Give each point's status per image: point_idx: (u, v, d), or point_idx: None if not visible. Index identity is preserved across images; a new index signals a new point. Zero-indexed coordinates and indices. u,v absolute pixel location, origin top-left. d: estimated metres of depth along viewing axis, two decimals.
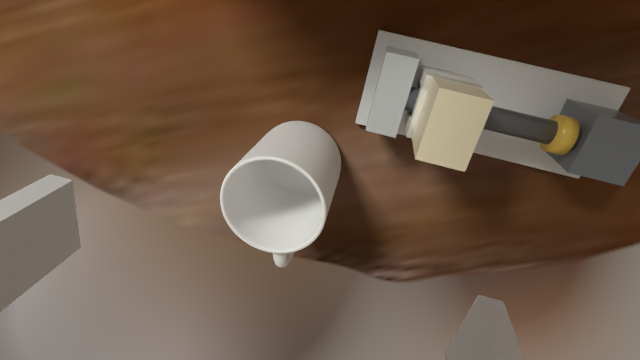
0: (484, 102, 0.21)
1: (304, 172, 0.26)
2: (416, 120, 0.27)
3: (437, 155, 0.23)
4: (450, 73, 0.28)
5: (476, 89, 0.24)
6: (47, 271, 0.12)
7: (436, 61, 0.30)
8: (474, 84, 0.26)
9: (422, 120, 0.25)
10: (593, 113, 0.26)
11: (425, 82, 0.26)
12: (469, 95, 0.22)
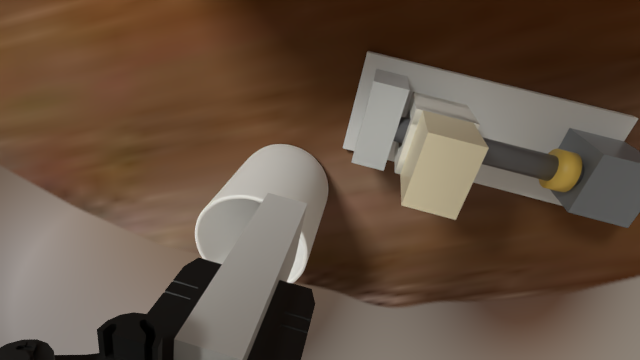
0: (477, 149, 0.19)
1: None
2: (405, 156, 0.25)
3: (425, 202, 0.21)
4: (443, 102, 0.26)
5: (470, 128, 0.22)
6: None
7: (429, 86, 0.28)
8: (468, 119, 0.24)
9: (410, 160, 0.23)
10: (597, 150, 0.24)
11: (415, 116, 0.23)
12: (461, 141, 0.19)
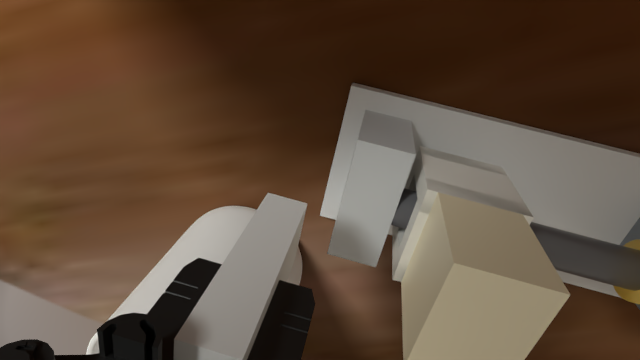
0: (548, 295, 0.10)
1: None
2: (409, 257, 0.16)
3: None
4: (467, 165, 0.17)
5: (522, 233, 0.13)
6: None
7: (443, 135, 0.19)
8: (512, 204, 0.14)
9: (418, 281, 0.13)
10: None
11: (425, 201, 0.14)
12: (516, 280, 0.10)
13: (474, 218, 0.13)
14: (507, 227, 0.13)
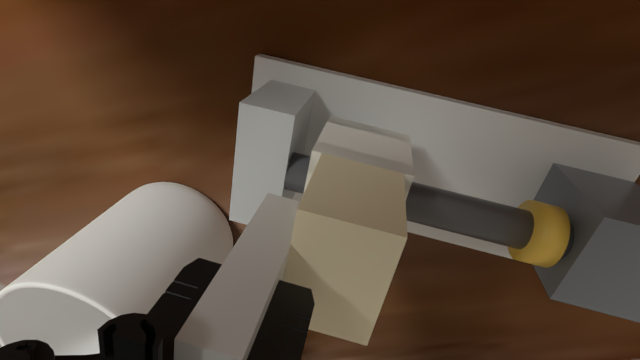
0: (387, 239, 0.11)
1: (103, 309, 0.16)
2: None
3: (314, 317, 0.12)
4: (371, 132, 0.17)
5: (390, 188, 0.13)
6: None
7: (348, 104, 0.19)
8: (398, 165, 0.15)
9: None
10: (594, 208, 0.15)
11: (311, 163, 0.15)
12: (357, 225, 0.11)
13: (346, 174, 0.13)
14: (378, 183, 0.13)
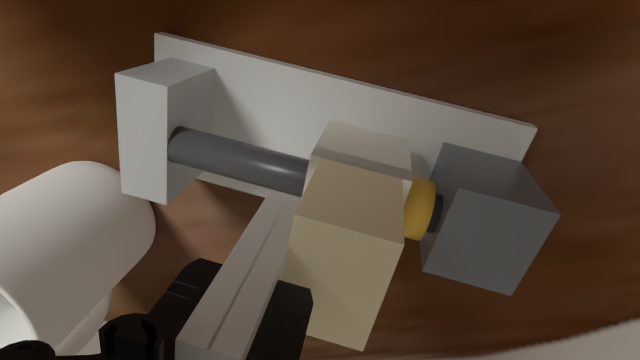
0: (384, 246, 0.11)
1: None
2: None
3: (310, 322, 0.12)
4: (370, 137, 0.17)
5: (388, 194, 0.13)
6: None
7: (246, 82, 0.20)
8: (397, 170, 0.15)
9: None
10: (455, 181, 0.15)
11: (310, 167, 0.15)
12: (354, 231, 0.11)
13: (345, 180, 0.13)
14: (376, 188, 0.13)
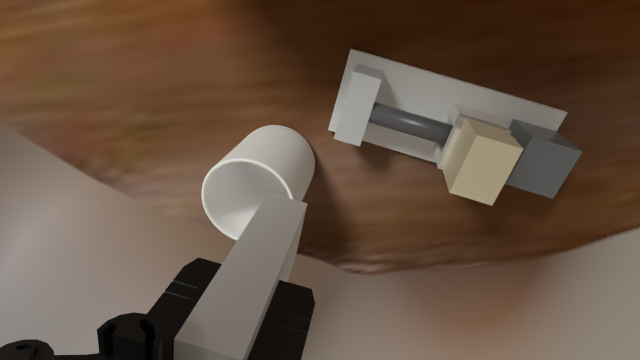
0: (514, 149, 0.25)
1: (276, 174, 0.30)
2: (448, 154, 0.30)
3: (469, 190, 0.27)
4: (478, 112, 0.32)
5: (505, 134, 0.27)
6: None
7: (400, 79, 0.34)
8: (501, 126, 0.29)
9: (456, 157, 0.28)
10: (528, 134, 0.30)
11: (459, 123, 0.29)
12: (502, 142, 0.25)
13: (483, 127, 0.28)
14: (498, 131, 0.28)
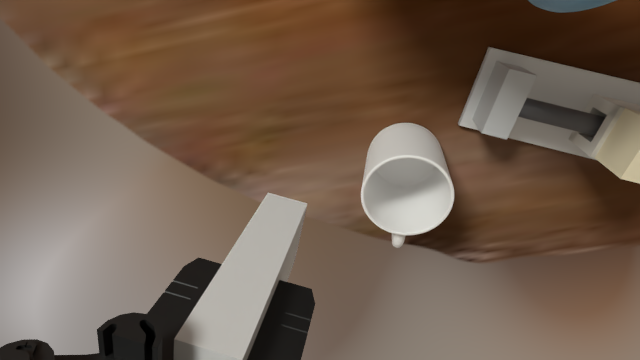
0: None
1: (440, 168, 0.32)
2: (602, 143, 0.32)
3: None
4: (623, 102, 0.34)
5: None
6: None
7: (538, 74, 0.36)
8: None
9: (620, 145, 0.30)
10: None
11: (617, 113, 0.31)
12: None
13: None
14: None
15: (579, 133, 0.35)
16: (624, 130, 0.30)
